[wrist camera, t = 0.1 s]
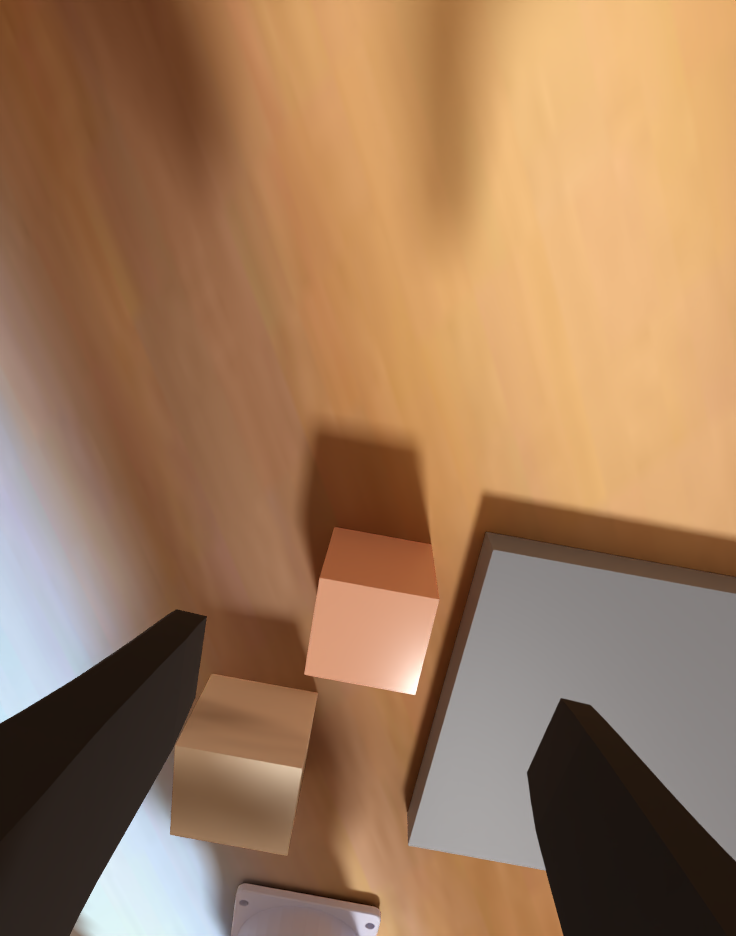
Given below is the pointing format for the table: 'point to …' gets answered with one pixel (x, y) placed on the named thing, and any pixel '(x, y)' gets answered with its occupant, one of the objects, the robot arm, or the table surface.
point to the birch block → (242, 764)
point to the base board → (578, 690)
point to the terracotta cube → (373, 611)
